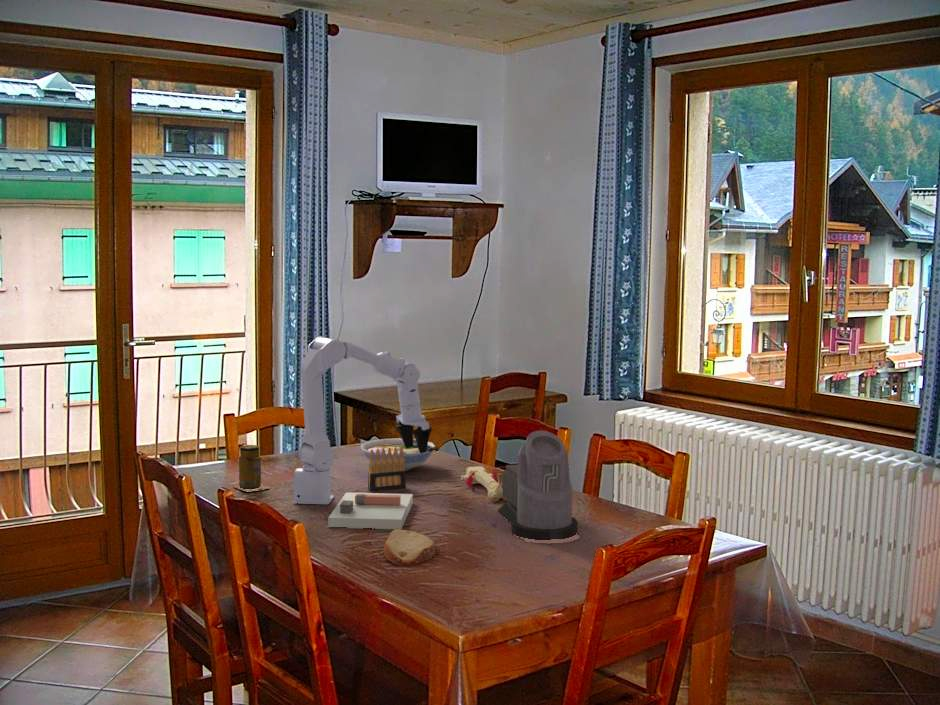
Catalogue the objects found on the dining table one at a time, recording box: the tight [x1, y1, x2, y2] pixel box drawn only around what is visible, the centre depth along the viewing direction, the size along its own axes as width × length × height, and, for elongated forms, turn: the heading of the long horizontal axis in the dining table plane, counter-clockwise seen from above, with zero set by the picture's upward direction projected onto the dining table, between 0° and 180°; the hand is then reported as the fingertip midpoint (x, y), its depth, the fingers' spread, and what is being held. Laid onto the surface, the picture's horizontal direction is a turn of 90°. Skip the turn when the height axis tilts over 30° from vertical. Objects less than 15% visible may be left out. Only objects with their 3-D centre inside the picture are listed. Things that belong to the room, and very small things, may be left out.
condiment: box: [238, 444, 262, 489], centre depth 282 cm, size 7×8×12 cm
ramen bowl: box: [360, 437, 439, 472], centre depth 307 cm, size 25×23×8 cm
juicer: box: [496, 430, 579, 540], centre depth 248 cm, size 30×16×24 cm, turn 16°
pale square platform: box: [327, 492, 414, 530], centre depth 257 cm, size 18×24×5 cm
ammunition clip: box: [367, 446, 406, 492], centre depth 283 cm, size 11×2×12 cm, turn 114°
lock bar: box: [355, 494, 401, 505], centre depth 258 cm, size 12×3×2 cm, turn 87°
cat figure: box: [460, 466, 507, 503], centre depth 282 cm, size 10×9×25 cm
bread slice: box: [382, 529, 436, 567], centre depth 229 cm, size 18×18×4 cm
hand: (416, 449), depth 286 cm, fingers open, 7 cm apart
